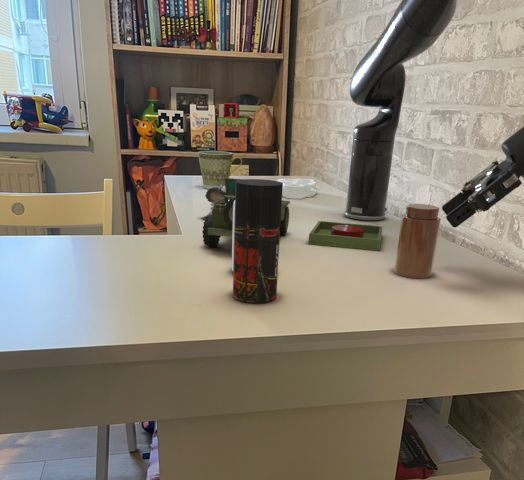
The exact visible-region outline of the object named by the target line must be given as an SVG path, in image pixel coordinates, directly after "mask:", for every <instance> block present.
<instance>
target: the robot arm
mask: <svg viewBox="0 0 524 480" xmlns="http://www.w3.org/2000/svg"><path fill="white" fill-rule="evenodd" d="M457 4H458V0H401V1H400V2H399V4H398V6H397V8H396V9H395V11H394V13H393V15H392V16H391V18H390V20H389V22H388V23H387V25H386V26H385V28H384V30H383V31H382V33H381V34H380V35H379V36H378V38H377V39H376V41H375V42H374V44H373V45H372V46H371V47H370V48H369V50H368V51H367V52H366V53H365V55H363V57H362V58H361V59H360V60H359V62H358V63H357V66H355V68H354V71H353V73H352V76H351V79H350V82H349V95H350V99H351V101H352V102H353V103H354V104H356V106H359V107H365V108H378V113H377V114H376V115H375V116H374V117H373V118H372V119H369V120H367V121H366V122H363V123H359V124H357V125H356V126H354V129H353V136H352V138H353V139H352V147H351V157H350V165H349V166H350V167H349V177H348V184H347V195H346V196H347V197H346V202H345V203H346V205H345V210H344V216H345V217H347V218H350V219H353V220H360V221H383V220H384V219H385V218H386V212H387V200H388V193H389V186H390V178H391V171H392V163H393V156H394V155H393V154H394V147H395V139H396V134H397V131H398V128H399V124H400V123H399V122H400V116H401V111H402V106H403V100H404V99H403V98H404V94H405V90H406V89H405V88H406V79H407V76H406V69H405V66H404V64H405V63H406V62H408V61H411V60H412V59H414V58H417V57H418V56H420V55H421V54H423V53H424V52H426V51H428V50H429V49H430V48H431V47H432V46H433V45H434V44H435V43H436V41H438V40H439V38H440V37H441V35H442V34H443V33H444V31H445V30H446V29H447V28H448V26H449V25H450V23H451V21H452V20H453V17H454V16H455V13H456V9H457ZM500 146H501V147H500V148H501V150H502V152H503V154H504V155H505V156H506V157H505V159H504V160H502V161H501V162H499V161H498V160H495V161H492V162H491V164H489V165H488V166H486V168H484V169H483V170H481V171H480V172H479V173H478V174H476V175H475V176H474V177H473V178H471V179H470V180H468V181H467V182H465V183H464V185H463V186H462V188H461V189H460V191H459V192H458V193H457V194H455V195H454V196H453V197H452V198H451V199H450V200H449V199H448V201H446V202H445V203H444V204H443V205H442V207H441V209H442V211H443V213H444V214H445V219H446V221H448V223H449V224H450V226H451V227H452V228H458V227H459V226H460V225H462V224H463V223H464V222H466V221H468V220H469V219H470V218H471V217H472V216H475V214H477V213H481V212H487V211H489V210H490V209H491V208H492V207H493V206H495V205H496V204H497V203H499V202H500V201H501V200H503V199H504V198H505V197H506V196H508V195H509V194H510V193H512V192H513V191H515V190H516V189H517V188H520V187H521V185H522V183H523V182H522V180H521V179H520V178H522V179H523V180H524V125H523V126H522V127H520V128H519V129H518V130H517V131H516V132H515V133H513V134H512V135H510V136H509V137H507V139H505V140H504V141H503V142H502V143H501V145H500Z"/></svg>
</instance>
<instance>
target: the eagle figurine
mask: <svg viewBox="0 0 524 480" xmlns="http://www.w3.org/2000/svg"><path fill="white" fill-rule="evenodd" d="M225 195H226V192H224V191H223V190H220V189H219V188H217V187H216V188H215V187H214V188H211V189H207V190H206V192H205V195H204V197H205V199H206V200H207V202H209V203H210V204H212V203H214V202H216V201H218V200H220V199H221V198H223V197H224V196H225ZM222 201H225V199H223V200H221V201H219V202H217V203H216V204H218V203H220V202H222ZM223 203H224V202H223ZM207 215H212V210H210V211H209V212H208V213H207V214H206V215H205V216H203V217H200V218H201V220H205V218H206V216H207Z"/></svg>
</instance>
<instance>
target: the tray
mask: <svg viewBox="0 0 524 480" xmlns="http://www.w3.org/2000/svg"><path fill="white" fill-rule="evenodd" d="M336 225H351V226H357V227H361V228H363V229H364V230H363V231H364V234H363V238H359V237H348V236H337V235H331V229H332V227H333V226H336ZM383 228H384V226H383V225H373V224H372V225H371V224H361V223H350V222H349V223H348V222H337V221H325V220H318V221H317V222H316V224H315V225H314V226H313V228H312V229H311V231H310V232H309V233H308V234H309V235H308V245H315V246H326V247H334V248H335V247H336V248H345V249H356V250H366V251H375V252H376V251H378V252H380V249H381V242H382V236H383Z"/></svg>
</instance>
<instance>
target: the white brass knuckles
mask: <svg viewBox="0 0 524 480" xmlns="http://www.w3.org/2000/svg"><path fill="white" fill-rule="evenodd" d="M276 181H279V182H282V183H283V187H282V198H285V199H293V200H302V199H304V198H311V197H314V196H315V195H316V192H317V191H320V190H321V189H322V187H319V186H318V185H317V182H316V180H315V179H312V178H279V179H277V180H276Z"/></svg>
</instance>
